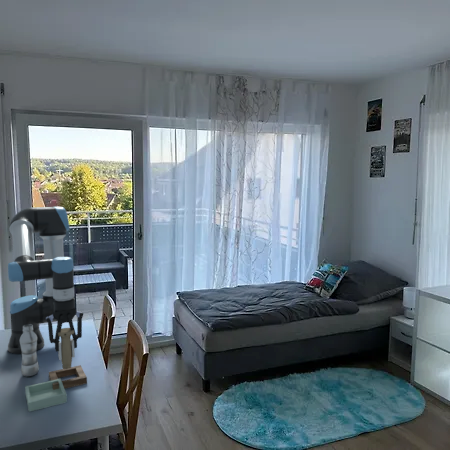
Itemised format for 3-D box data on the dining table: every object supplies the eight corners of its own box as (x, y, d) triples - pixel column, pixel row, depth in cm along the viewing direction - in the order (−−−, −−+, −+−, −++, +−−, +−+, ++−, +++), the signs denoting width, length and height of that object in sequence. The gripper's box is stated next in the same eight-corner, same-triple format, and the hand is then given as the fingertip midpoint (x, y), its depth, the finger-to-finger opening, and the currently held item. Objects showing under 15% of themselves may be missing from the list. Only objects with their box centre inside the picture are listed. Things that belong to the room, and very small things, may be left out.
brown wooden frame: (48, 378, 163) (48, 372, 163) (80, 371, 169) (80, 365, 169) (53, 391, 153) (52, 384, 152) (87, 383, 159) (86, 377, 158)
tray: (25, 394, 150) (25, 386, 150) (60, 386, 156) (60, 378, 156) (28, 411, 139) (28, 403, 139) (66, 402, 145) (66, 393, 145)
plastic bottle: (19, 379, 162) (16, 329, 160) (23, 371, 168) (20, 323, 166) (37, 377, 164) (35, 328, 162) (40, 369, 170) (38, 322, 168)
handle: (75, 369, 159) (74, 331, 158) (57, 371, 157) (55, 333, 156) (76, 363, 164) (74, 327, 162) (58, 366, 162) (56, 328, 160)
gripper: (40, 304, 150) (43, 366, 153) (89, 297, 158) (91, 356, 161) (38, 298, 156) (41, 358, 159) (85, 292, 165) (87, 349, 168)
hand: (66, 357), depth 160 cm, fingers closed on handle, 4 cm apart
